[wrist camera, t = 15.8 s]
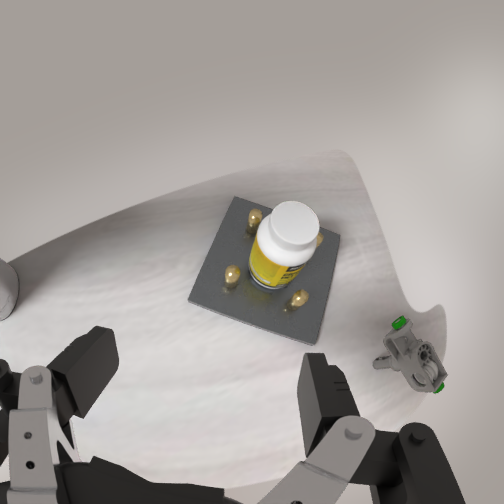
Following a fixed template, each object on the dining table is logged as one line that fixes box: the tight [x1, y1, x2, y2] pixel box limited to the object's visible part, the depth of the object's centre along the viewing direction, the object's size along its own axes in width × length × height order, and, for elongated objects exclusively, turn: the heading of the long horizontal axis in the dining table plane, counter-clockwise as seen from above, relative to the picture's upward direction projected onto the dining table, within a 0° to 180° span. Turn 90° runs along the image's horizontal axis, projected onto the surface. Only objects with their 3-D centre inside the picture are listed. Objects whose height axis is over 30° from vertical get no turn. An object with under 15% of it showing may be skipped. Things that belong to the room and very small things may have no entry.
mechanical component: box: [373, 316, 447, 393], centre depth 27 cm, size 3×10×10 cm, turn 33°
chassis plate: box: [188, 197, 340, 346], centre depth 34 cm, size 16×16×4 cm
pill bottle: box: [249, 201, 320, 289], centre depth 30 cm, size 6×6×11 cm
